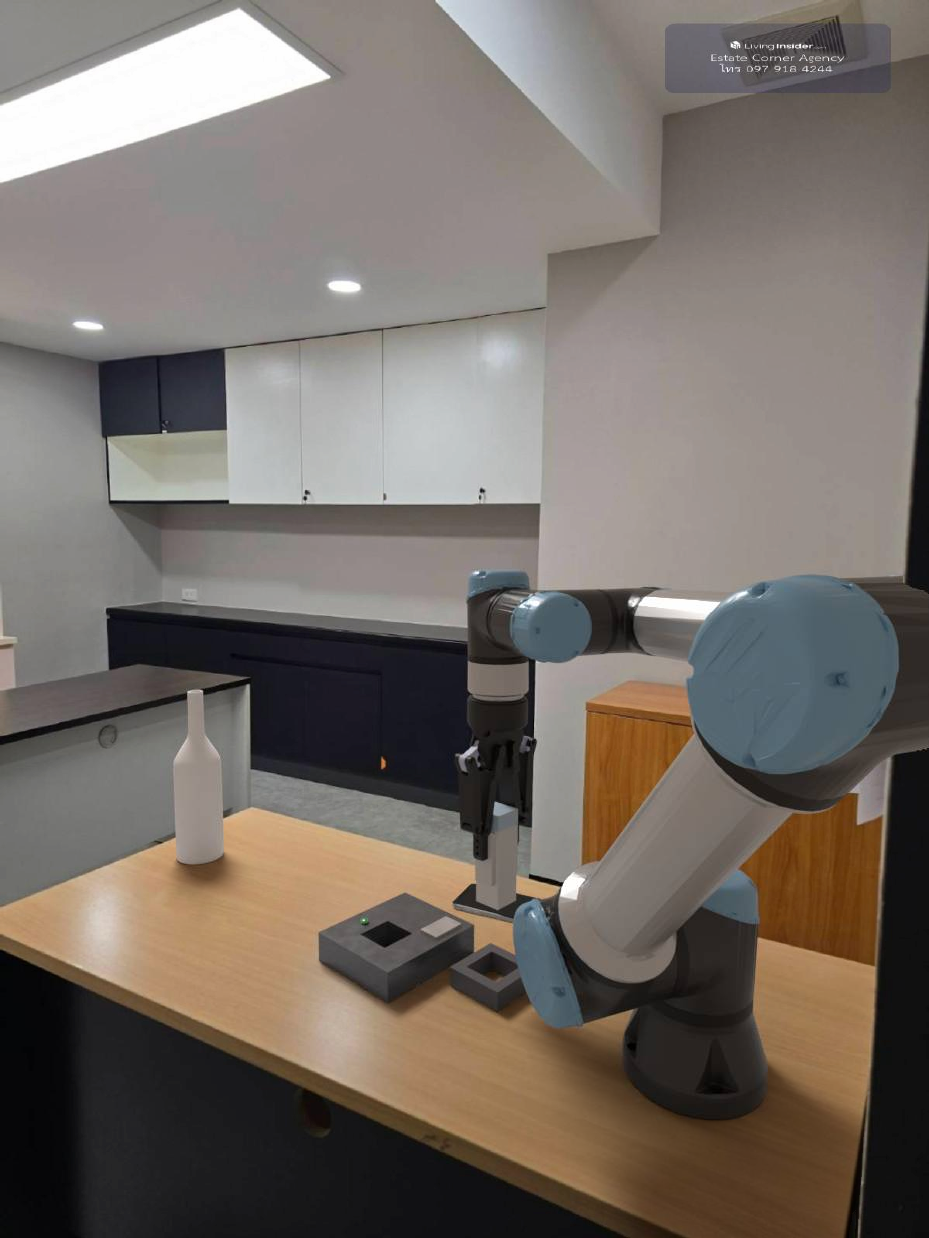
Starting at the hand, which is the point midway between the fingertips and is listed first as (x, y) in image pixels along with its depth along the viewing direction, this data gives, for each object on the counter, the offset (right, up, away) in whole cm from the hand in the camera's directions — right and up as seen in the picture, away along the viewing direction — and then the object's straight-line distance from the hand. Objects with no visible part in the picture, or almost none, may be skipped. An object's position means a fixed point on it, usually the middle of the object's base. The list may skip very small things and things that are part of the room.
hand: (496, 876), depth 97 cm
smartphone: (+2, -13, +23) cm, 26 cm away
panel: (-13, -14, +8) cm, 21 cm away
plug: (0, -3, 0) cm, 3 cm away
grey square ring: (0, -15, +2) cm, 15 cm away
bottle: (-51, -10, +41) cm, 66 cm away
